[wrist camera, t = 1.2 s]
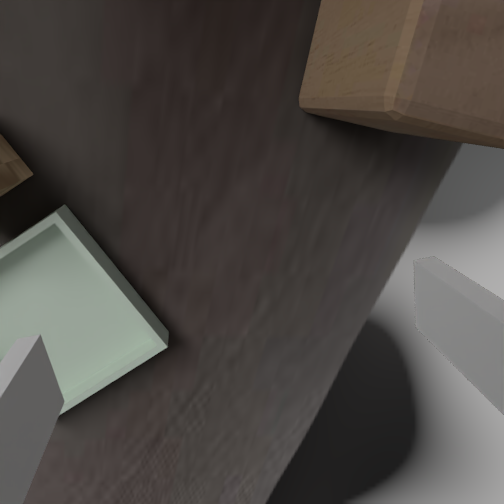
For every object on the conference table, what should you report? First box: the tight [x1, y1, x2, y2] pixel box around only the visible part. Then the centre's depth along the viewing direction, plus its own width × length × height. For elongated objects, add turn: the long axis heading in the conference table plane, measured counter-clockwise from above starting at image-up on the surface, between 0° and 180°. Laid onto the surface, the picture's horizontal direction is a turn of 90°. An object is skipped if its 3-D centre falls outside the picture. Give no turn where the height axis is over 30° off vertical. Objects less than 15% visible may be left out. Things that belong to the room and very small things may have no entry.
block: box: [299, 0, 504, 149], centre depth 30 cm, size 10×10×20 cm
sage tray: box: [0, 204, 169, 415], centre depth 42 cm, size 16×16×3 cm
